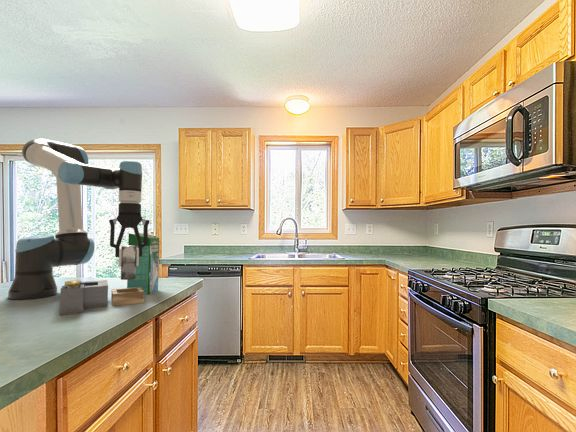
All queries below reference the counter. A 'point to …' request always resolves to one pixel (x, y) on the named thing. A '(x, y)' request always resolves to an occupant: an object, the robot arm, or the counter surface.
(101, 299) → the socket block
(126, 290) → the tray
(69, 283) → the gold rounded cylinder
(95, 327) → the counter surface
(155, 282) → the milk carton
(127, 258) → the shiny silver rounded cylinder
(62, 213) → the robot arm
